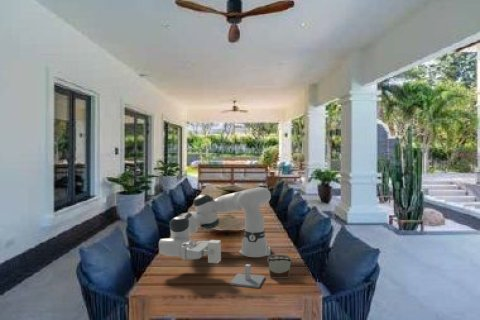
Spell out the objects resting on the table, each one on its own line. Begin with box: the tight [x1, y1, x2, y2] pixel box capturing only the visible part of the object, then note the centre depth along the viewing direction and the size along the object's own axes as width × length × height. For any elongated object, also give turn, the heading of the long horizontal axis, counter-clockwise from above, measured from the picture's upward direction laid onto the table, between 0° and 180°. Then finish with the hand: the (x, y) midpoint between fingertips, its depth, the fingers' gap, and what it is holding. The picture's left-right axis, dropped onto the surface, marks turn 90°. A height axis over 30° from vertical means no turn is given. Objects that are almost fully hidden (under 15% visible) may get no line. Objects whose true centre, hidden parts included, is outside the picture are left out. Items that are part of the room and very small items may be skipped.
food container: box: [267, 254, 293, 279], centre depth 208 cm, size 12×6×10 cm, turn 92°
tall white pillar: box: [207, 239, 222, 264], centre depth 203 cm, size 5×5×10 cm
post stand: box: [229, 263, 266, 289], centre depth 200 cm, size 14×14×8 cm
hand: (215, 250), depth 203 cm, fingers closed on tall white pillar, 5 cm apart
